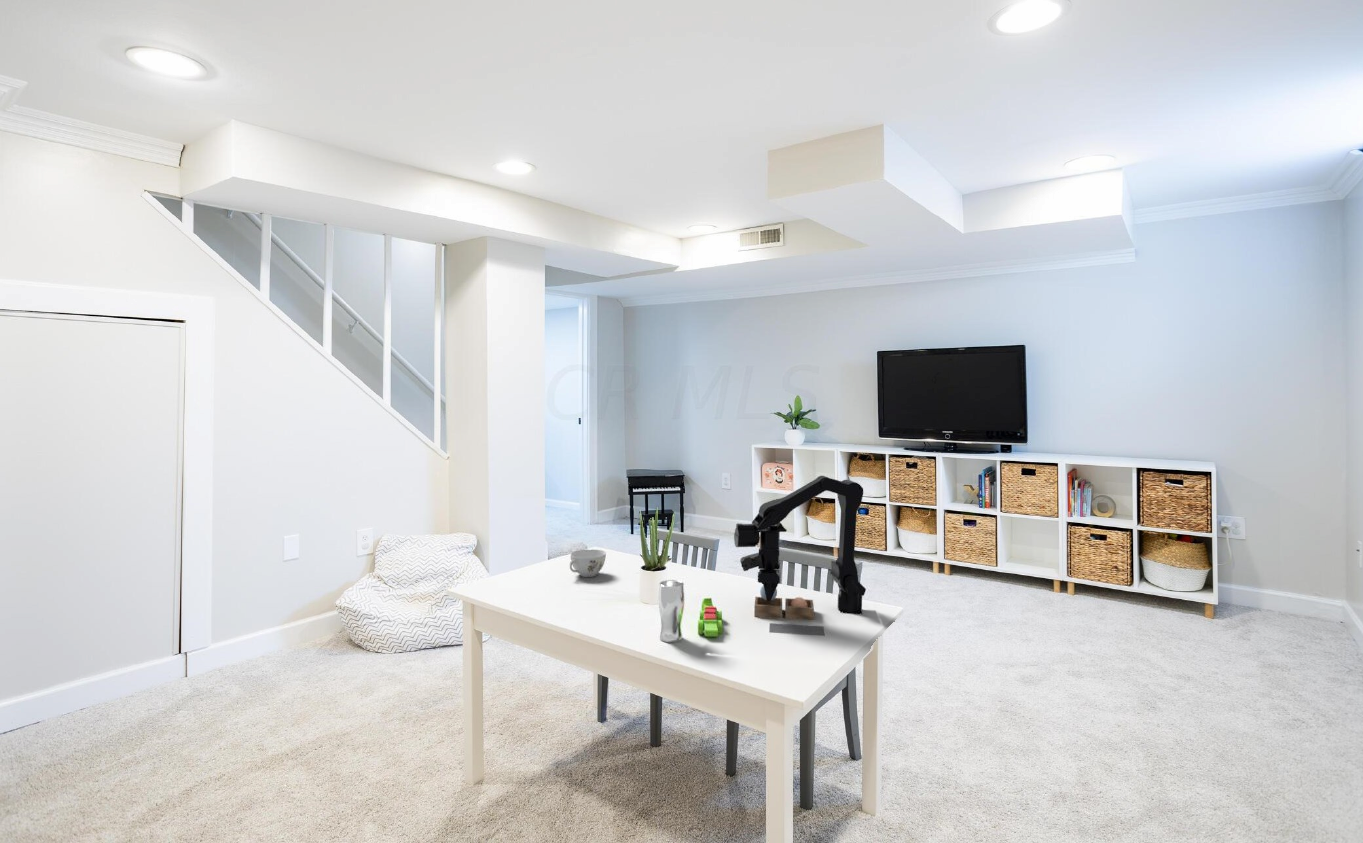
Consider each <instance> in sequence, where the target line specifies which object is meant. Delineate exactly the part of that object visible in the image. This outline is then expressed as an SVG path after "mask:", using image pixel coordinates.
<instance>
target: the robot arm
mask: <svg viewBox="0 0 1363 843" xmlns="http://www.w3.org/2000/svg"><path fill="white" fill-rule="evenodd" d="M826 491H827V492H831V493H834V494H837V500H838V503H839V504H838V505H839V507H840V522H839V523H840V524H839V539H838V540H839V541H838V555H837V558H836V561H835V560H834V561H833V560H832V561H830V566H831V569H830V572H829V574H830V575H832V576H831V577H832V580H833V581H834V582H835V583H836V584H837V586H838V588H839V594H837V609H838V611H839V612H840V614H849V615H851V614H852V615H863V610H862V609H863V596H865V594H866V590H867V589H866V587H865V586H863V584H862V583H861V582H860V581H859V574H858V567H857V565H856V562H855V547H856V533H857V532H856V531H857V530H856V528H857V513H858V510H859V509H860V506H861V505H862V501H863V497H864V487H862V485H861V484H860V483H858V482H856V481H853V480H850V479H843V480H838V479H833V478H831V477H828V476H825V475H819V476H817V477H816V478H815V479H813V480H812V481H809V483H806V484H805V485H802V486H801V487H800V488H798V489H796V490H793V491H792V492H791V493H789V494H788V495H786V496H783V497H781V498H777V499H772V500H769V501H767V502H764V503H762V504H761V505H760V506H759V508H758V509H759V510H758V513H757V515H756V516H755V517H754V519H753V520H752V521H751V523H736V526H735V529H734V533H733V539H734V540H733V543H734V546H735V548H753V547H754V548H755V547H756V546H757V545H759V548H758V552H756V553H751V554H749V555H744V556H742V557H741V558H740V564H741V567H742V570H743V572H747V571H749V570H751V569H754V568H758V569H759V571H758V572H757V583H759V584H761V585H762V586H763V585H764V590H765V595H766V600H767V601H771V599H772V597H773V594H774V592H775V590H776V589H777V587H778V585H779V584H781V583H780V582H781V574H780V567H781V566H780V565H781V561H780V538H781V537H780V533H785V532H787V531H788V530H787V529H786V528H785V527H784V525H783V524H782V523H781V522H782V521H783V520H784V519H786V518H787V517H788V516H789V514H790V513H791V512H792V511H794V510H795V509H796V508H798V507H800V506H802V505H803V504H805V503H807V502H808V501H809V502H810V500H812V499H814V498H816V497H817V496H819V495H821V494H822V493H824V492H826Z"/></svg>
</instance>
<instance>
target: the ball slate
mask: <svg viewBox="0 0 1363 843" xmlns="http://www.w3.org/2000/svg"><path fill="white" fill-rule="evenodd" d="M759 593H760V597H762V598H763V599H764V600H766V595H765V590H764V585H763V584H762V586H761V587H760V590H759ZM777 596H778V589H777V588H776V590H775V592H774V594H773V597H772V599H771V600H773V599H775V598H777Z"/></svg>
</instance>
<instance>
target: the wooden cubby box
mask: <svg viewBox="0 0 1363 843" xmlns="http://www.w3.org/2000/svg"><path fill="white" fill-rule="evenodd" d="M793 599H794V598H787V597H786V598H785V600H784V602H785V607H784V609H785V610H784V611H785V619H786V620H801V621H814V620H815V619H814V618H815V615H814V614H815V607H814V599H806V598H803V599H804V600H805V601H806V602H807V605H808V608H807V607H791V606H790V605H791V602H792V600H793Z"/></svg>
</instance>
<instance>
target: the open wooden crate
mask: <svg viewBox="0 0 1363 843" xmlns="http://www.w3.org/2000/svg"><path fill="white" fill-rule="evenodd" d="M753 616H754V618H767V619H783V597H775V599H773V600H771V601H767V600H764V599H763V598H762V597H761V596H755V598H754V615H753Z"/></svg>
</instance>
